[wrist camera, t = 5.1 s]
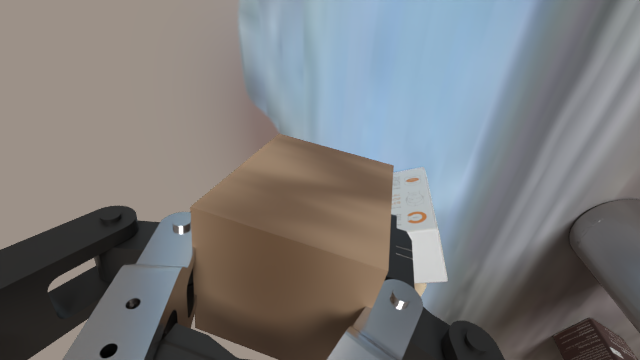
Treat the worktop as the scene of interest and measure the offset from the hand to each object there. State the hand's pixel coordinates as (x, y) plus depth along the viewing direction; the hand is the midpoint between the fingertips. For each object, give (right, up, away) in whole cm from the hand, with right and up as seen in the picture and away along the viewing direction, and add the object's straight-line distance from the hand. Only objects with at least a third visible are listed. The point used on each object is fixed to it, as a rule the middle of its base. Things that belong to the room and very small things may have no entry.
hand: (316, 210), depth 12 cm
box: (+38, -21, +29) cm, 52 cm away
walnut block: (0, 0, +1) cm, 1 cm away
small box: (+10, 0, +26) cm, 28 cm away
